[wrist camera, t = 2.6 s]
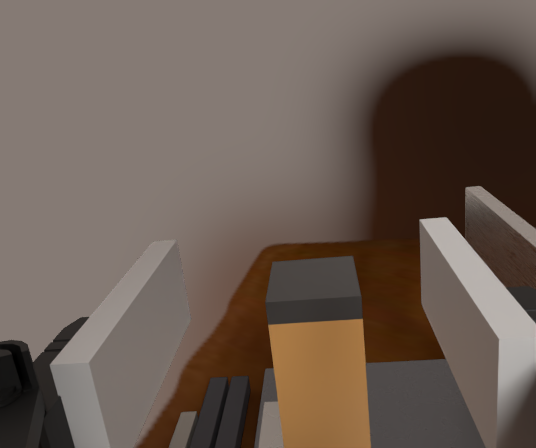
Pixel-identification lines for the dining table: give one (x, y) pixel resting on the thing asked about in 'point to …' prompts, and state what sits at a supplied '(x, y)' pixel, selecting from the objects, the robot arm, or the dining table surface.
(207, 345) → the dining table surface
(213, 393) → the long grooved rail
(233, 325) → the dining table surface
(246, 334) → the dining table surface
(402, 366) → the l-shaped metal bracket
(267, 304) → the lever
